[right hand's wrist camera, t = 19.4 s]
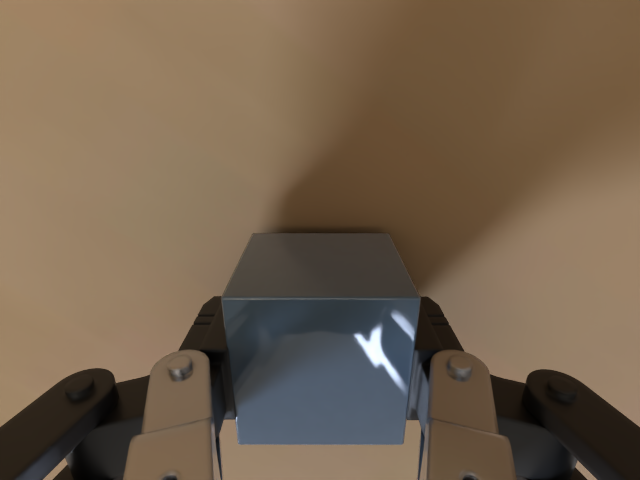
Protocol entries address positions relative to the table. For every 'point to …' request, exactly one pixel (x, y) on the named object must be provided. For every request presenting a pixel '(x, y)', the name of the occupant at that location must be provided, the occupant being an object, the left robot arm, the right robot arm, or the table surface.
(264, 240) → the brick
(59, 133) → the table surface
